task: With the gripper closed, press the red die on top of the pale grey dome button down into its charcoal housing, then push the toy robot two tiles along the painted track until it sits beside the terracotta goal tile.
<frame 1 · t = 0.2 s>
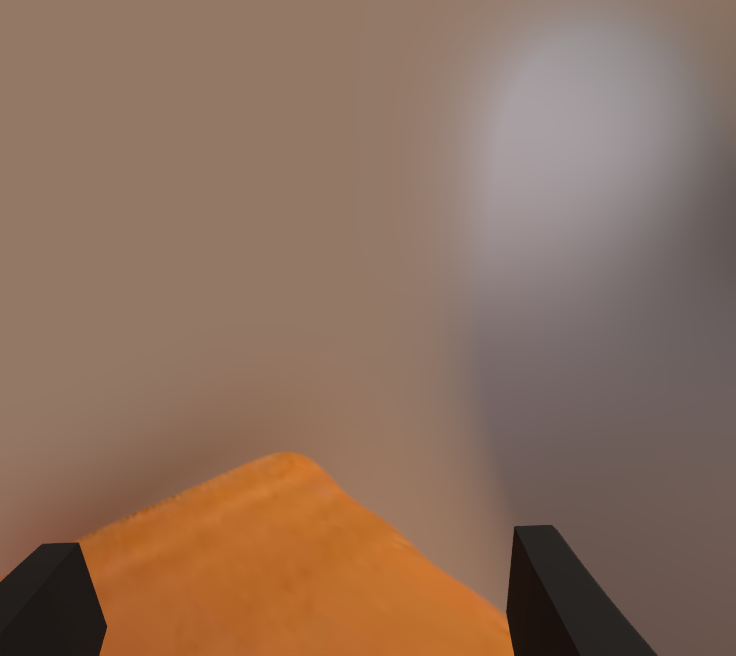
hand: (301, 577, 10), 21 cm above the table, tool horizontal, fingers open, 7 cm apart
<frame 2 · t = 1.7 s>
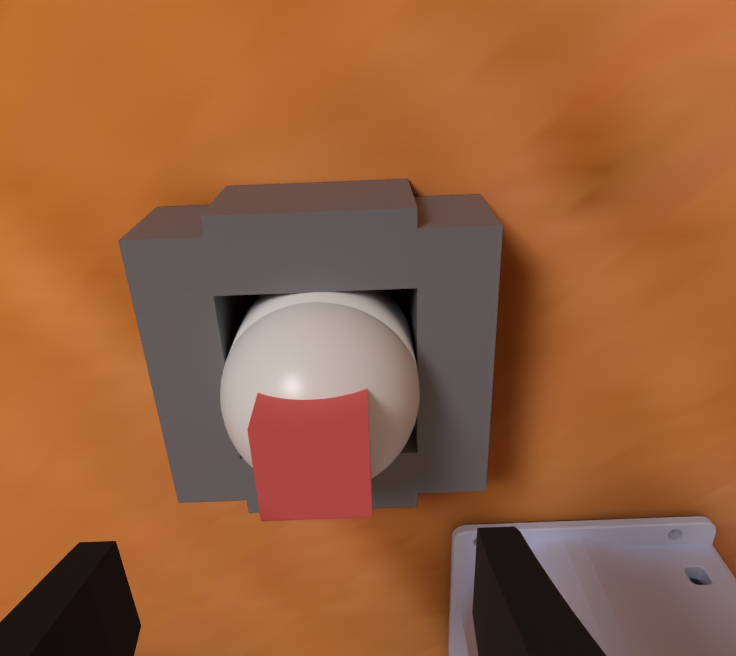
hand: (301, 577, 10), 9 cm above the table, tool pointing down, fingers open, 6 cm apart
dome button: (320, 399, 15), point 4 cm above the table, slide at 0.0 cm
dome housing: (327, 329, 19), on the table
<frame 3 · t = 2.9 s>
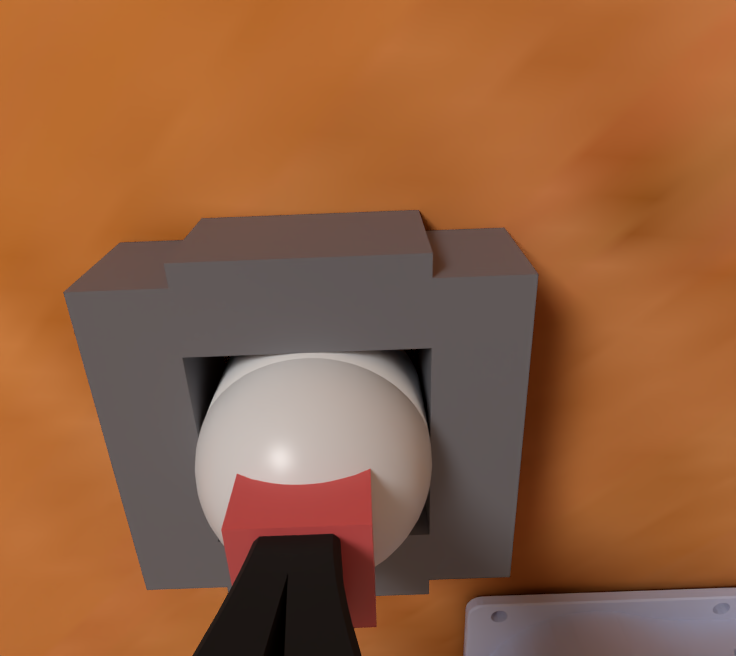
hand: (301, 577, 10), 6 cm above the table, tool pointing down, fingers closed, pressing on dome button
dome button: (314, 470, 13), point 4 cm above the table, slide at 0.4 cm, touching gripper
dome housing: (323, 381, 16), on the table
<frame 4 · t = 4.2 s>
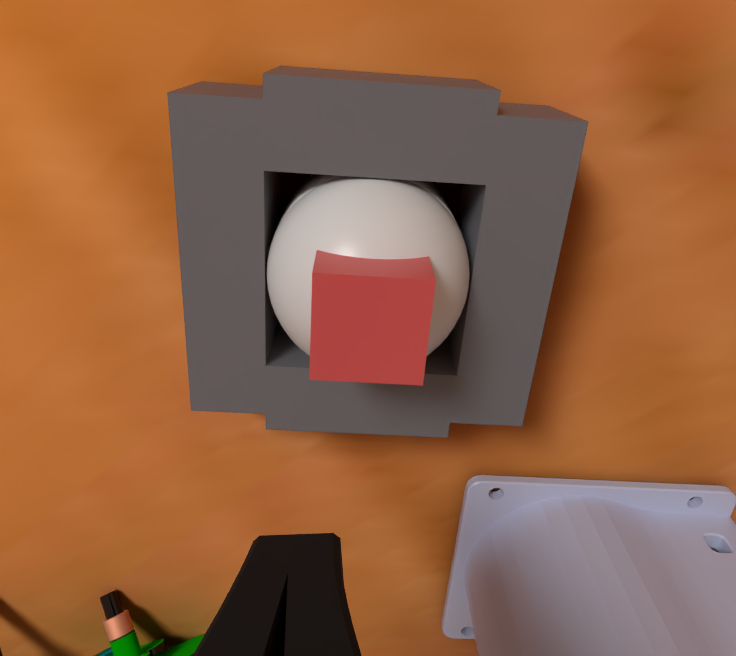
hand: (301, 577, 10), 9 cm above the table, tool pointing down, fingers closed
toy robot: (75, 616, 25), on the table
dome button: (368, 279, 15), point 3 cm above the table, slide at 1.1 cm
dome housing: (367, 242, 17), on the table
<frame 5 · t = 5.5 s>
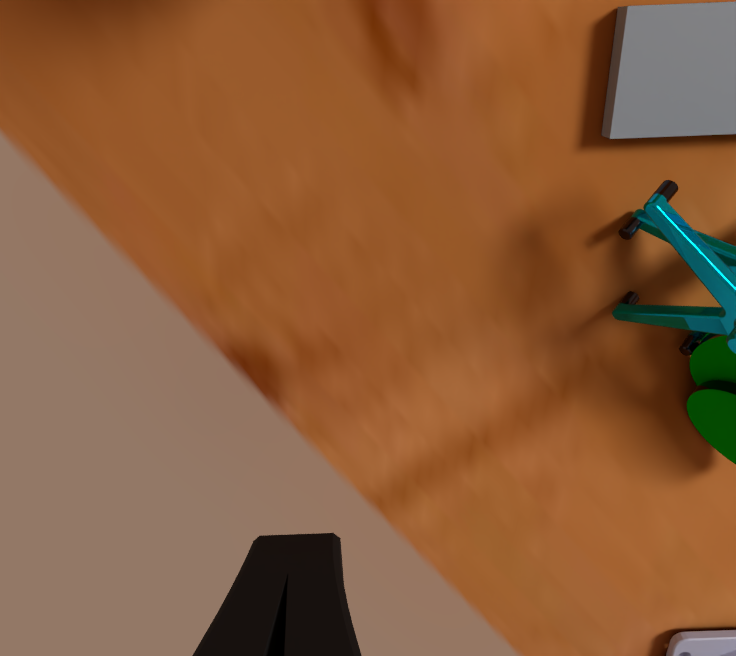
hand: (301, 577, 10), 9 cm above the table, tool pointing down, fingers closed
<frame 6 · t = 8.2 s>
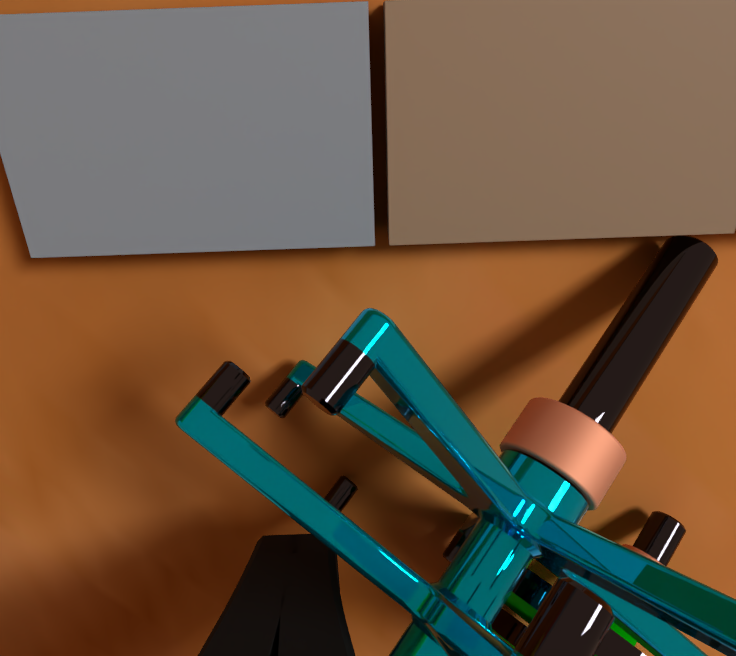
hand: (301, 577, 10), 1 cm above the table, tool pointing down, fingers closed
toy robot: (545, 442, 11), on the table, touching gripper
track tiles: (560, 120, 8), on the table
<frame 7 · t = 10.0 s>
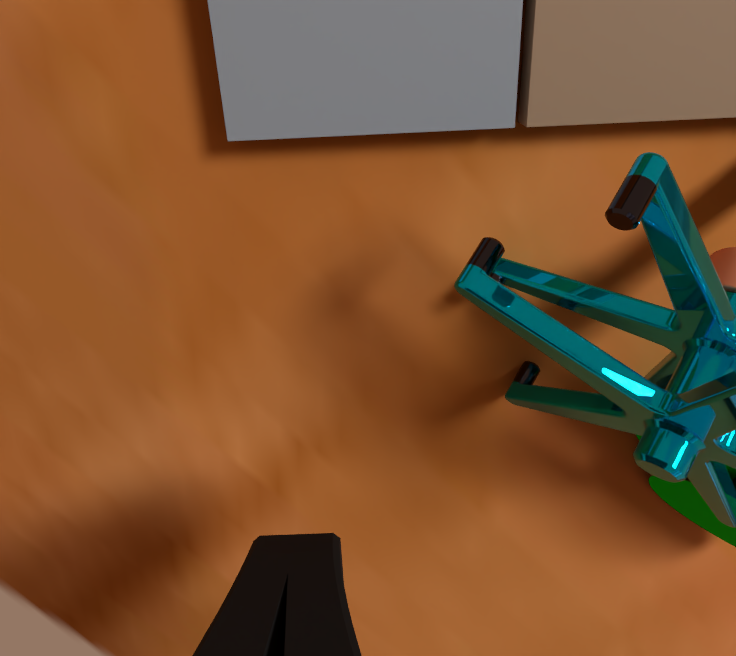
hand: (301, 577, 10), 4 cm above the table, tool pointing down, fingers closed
toy robot: (696, 315, 13), on the table
track tiles: (670, 19, 10), on the table
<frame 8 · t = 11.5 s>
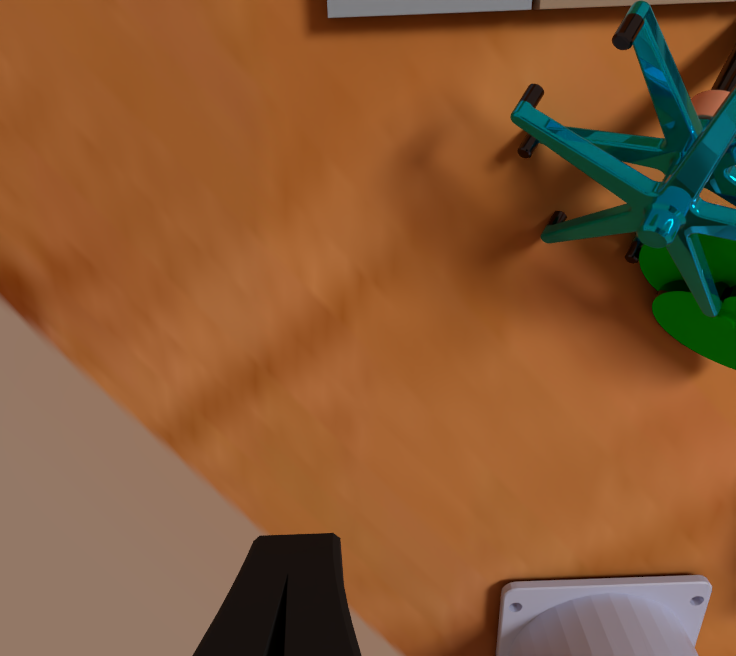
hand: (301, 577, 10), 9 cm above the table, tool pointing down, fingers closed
toy robot: (684, 173, 17), on the table
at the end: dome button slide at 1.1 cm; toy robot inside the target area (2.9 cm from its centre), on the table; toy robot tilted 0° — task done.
